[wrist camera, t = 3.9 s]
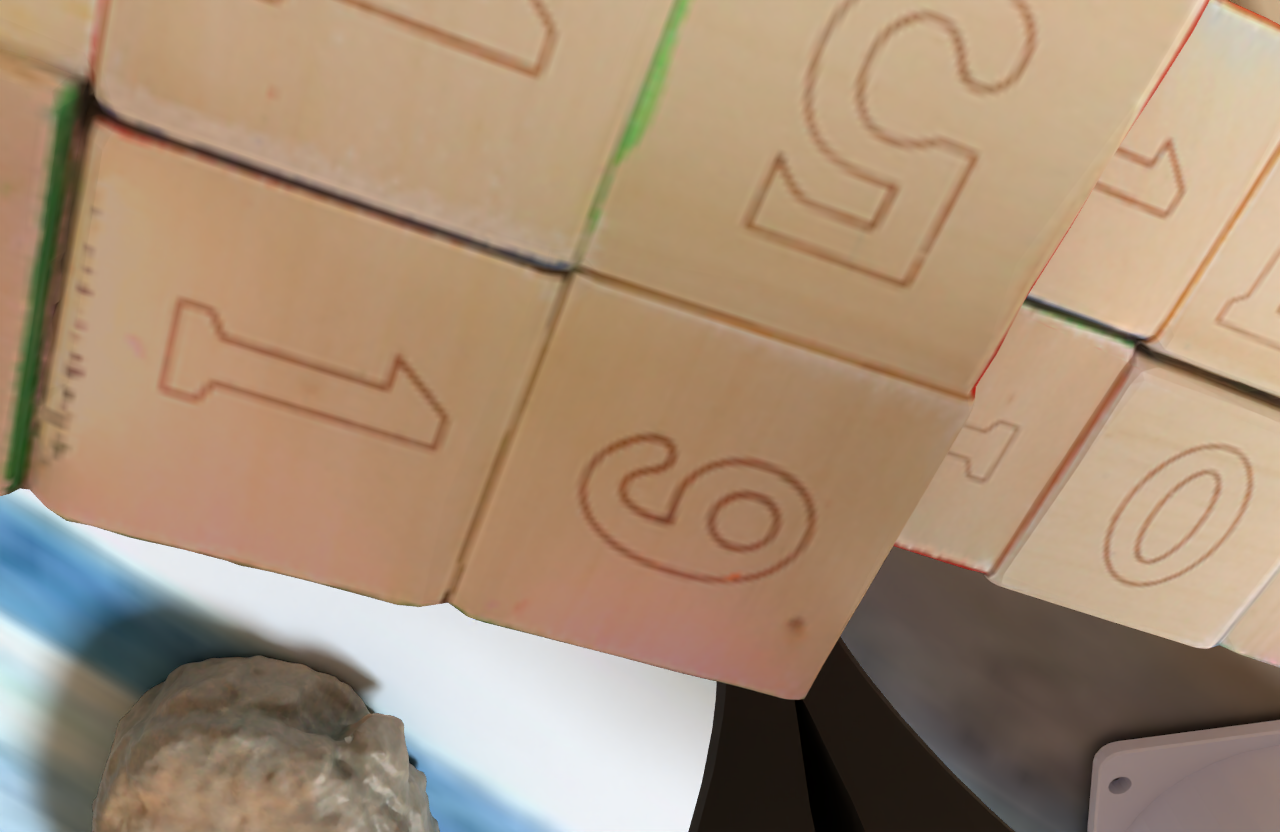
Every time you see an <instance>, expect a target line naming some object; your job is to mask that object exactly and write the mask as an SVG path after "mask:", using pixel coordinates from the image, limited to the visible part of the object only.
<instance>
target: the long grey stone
mask: <svg viewBox="0 0 1280 832" xmlns="http://www.w3.org/2000/svg"><path fill="white" fill-rule="evenodd" d="M426 782H427V781H426V776H425V774H424V773H423V772H421V771H419V770H417V769H416V768H415V767H414V766H413V765H411V764H410V763H409V756H408V752H407V748H406V743H405V736H404V724H403V722H402V720H400V719H399V718H396V717H394V716H391V715H383V714H379V713H374V714H371V713H370V712H369V711H368V710H367V708H366V706H365V703H364V702H363V701H362V699H361V698H360V696H359V695H357V694H356V693H355V692H354V690H353V689H352V687H351V686H349V685H348V684H346V683H342V682H341V681H339V680H338V679H337V678H336V677H335V676H332V675H329V674H325V673H321V672H316V671H314V670H313V669H311V668H310V667H308V666H306V665H304V664H299V663H289V662H285V661H282V660H277V659H272V658H266V657H264V656H261V655H258V656H252V657H247V658H244V657H226V658H209V659H206V660H204V661H202V662H192V663H187V664H184V665H181V666H179V667H178V668H176V669H175V670H174V671H172V672H171V673H170V674H169V675H168V677H167V679H166V681H165V682H162V683H160V684H158V685H157V686H155V687H153V688H152V689H150V690H148V691H147V692H146V693H145V694H144V695H143V696H142V697H141V698H140V699H139V700H138V702H137V703H136V704H135V705H134V706H133V707H132V709H131V710H130V711H129V712H128V713H127V714H126V715H125V716H124V717H123V718H122V719H121V720H120V721H119V723H118V725H117V728H116V732H115V738H114V741H113V744H112V747H111V752H110V756H109V758H108V760H107V763H106V766H105V769H104V772H103V775H102V779H101V782H100V785H99V788H98V793H97V797H96V798H95V799H94V800H93V804H92V811H93V813H94V814H93V822H92V832H440V830H439V827H438V822H437V820H436V819H435V818H433V817H432V815H431V812H430V810H429V801H428V795H427V794H426V791H425V790H426Z"/></svg>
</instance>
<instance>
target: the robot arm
mask: <svg viewBox="0 0 1280 832" xmlns="http://www.w3.org/2000/svg"><path fill="white" fill-rule="evenodd" d="M1119 777H1120V778H1119ZM1116 778H1119V779H1118V780H1115V781H1113V780H1114V779H1116ZM1111 781H1112V782H1111ZM689 832H1015V831H1014V830H1013V829H1011V828H1010V827H1009V826H1008V825H1007V824H1006V823H1005V822H1004V821H1003V820H1001V819H1000V818H999V817H998V816H997V815H996V814H995V813H994V812H993V811H992V810H991V809H989V808H988V807H987V806H986V805H985V804H984V803H983V802H982V801H981V800H980V799H979V798H978V797H977V796H976V795H975V794H974V793H973V792H972V791H971V790H970V789H969V788H968V787H967V786H966V785H965V784H964V783H963V782H962V781H961V780H960V779H959V778H958V777H957V776H956V775H955V774H954V773H953V772H952V771H951V770H950V769H949V768H948V767H947V766H946V765H945V764H944V763H943V762H942V761H941V760H940V759H939V758H938V757H937V756H936V755H935V753H934V752H933V751H932V750H931V749H930V748H929V747H928V746H927V745H926V744H925V742H924V741H923V740H922V739H921V738H920V737H919V736H918V735H917V734H916V733H915V731H914V730H913V729H912V728H911V727H910V726H909V725H908V724H907V723H906V721H905V720H904V719H903V718H902V717H901V716H900V714H899V713H898V712H897V711H896V710H895V709H894V707H893V706H892V705H891V704H890V703H889V701H888V700H887V699H886V698H885V696H884V695H883V694H882V693H881V691H880V690H879V689H878V688H877V687H876V685H875V684H874V683H873V682H872V680H871V679H870V678H869V676H868V675H867V674H866V672H865V671H864V670H863V668H862V667H861V666H860V664H859V663H858V662H857V660H856V659H855V658H854V656H853V655H852V653H851V652H850V650H849V649H848V648H847V646H846V645H845V643H844V642H843V640H842V638H841V637H839V639H838V641H837V642H836V644H835V646H834V647H833V649H832V651H831V653H830V654H829V656H828V658H827V659H826V661H825V663H824V664H823V666H822V668H821V670H820V672H819V673H818V675H817V677H816V679H815V681H814V682H813V684H812V686H811V688H810V690H809V691H808V693H807V695H806V697H805V699H800V700H789V699H783V698H779V697H776V696H772V695H768V694H765V693H761V692H757V691H754V690H750V689H746V688H742V687H738V686H734V685H730V684H726V683H722V682H717V688H716V703H715V711H714V720H713V728H712V734H711V739H710V744H709V749H708V755H707V760H706V765H705V770H704V775H703V780H702V784H701V788H700V792H699V796H698V799H697V803H696V806H695V810H694V814H693V817H692V821H691V825H690V828H689ZM1087 832H1280V720H1275V721H1267V722H1260V723H1252V724H1244V725H1237V726H1229V727H1222V728H1214V729H1207V730H1199V731H1191V732H1184V733H1176V734H1169V735H1161V736H1154V737H1146V738H1138V739H1131V740H1123V741H1116V742H1112V743H1108V744H1106V745H1105V746H1103V747H1102V748H1100V750H1099V751H1098V752H1097V753H1096V754H1095V757H1094V760H1093V769H1092V781H1091V793H1090V805H1089V817H1088V829H1087Z"/></svg>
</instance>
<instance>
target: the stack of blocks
mask: <svg viewBox="0 0 1280 832" xmlns="http://www.w3.org/2000/svg"><path fill="white" fill-rule="evenodd" d="M19 488H22V489H30V490H31V491H32V492H33V493H34V494H35V496H36V497H37V498H38V499H39V500H40V501H41V502H42V503H43V504H44V505H45V506H46V507H47V508H48V509H50V510H51V511H53V512H54V513H56V514H57V515H59V516H60V517H62V518H63V519H65V520H66V521H71V522H76V523H81V524H86V525H91V526H94V527H98V528H101V529H104V530H108V531H111V532H114V533H117V534H121V535H124V536H127V537H130V538H134V539H139V540H143V541H148V542H153V543H157V544H162V545H166V546H171V547H175V548H180V549H184V550H188V551H192V552H195V553H199V554H203V555H207V556H211V557H215V558H218V559H222V560H226V561H229V562H232V563H234V564H237V565H241V566H246V567H251V568H255V569H260V570H265V571H270V572H274V573H278V574H282V575H287V576H291V577H295V578H299V579H303V580H307V581H311V582H315V583H318V584H322V585H326V586H330V587H333V588H337V589H341V590H345V591H348V592H352V593H356V594H360V595H363V596H367V597H371V598H375V599H378V600H382V601H385V602H389V603H393V604H396V605H406V606H416V607H422V606H428V605H435V604H442V603H450V604H451V605H452V606H454V607H455V608H457V609H458V610H459V611H461V612H462V613H463V614H465V615H466V616H468V617H470V618H473V619H476V620H479V621H482V622H485V623H489V624H493V625H497V626H501V627H505V628H509V629H513V630H517V631H521V632H525V633H529V634H533V635H537V636H541V637H545V638H549V639H553V640H557V641H560V642H564V643H568V644H572V645H576V646H580V647H584V648H588V649H592V650H596V651H600V652H604V653H608V654H611V655H615V656H619V657H623V658H627V659H630V660H634V661H638V662H642V663H645V664H649V665H653V666H657V667H661V668H664V669H668V670H672V671H676V672H679V673H683V674H688V675H692V676H696V677H700V678H705V679H709V680H713V681H717V682H722V683H726V684H730V685H734V686H738V687H742V688H746V689H750V690H754V691H757V692H761V693H765V694H768V695H772V696H776V697H779V698H783V699H789V700H800V699H805V697H806V695H807V693H808V691H809V690H810V688H811V686H812V684H813V682H814V681H815V679H816V677H817V675H818V673H819V672H820V670H821V668H822V666H823V664H824V663H825V661H826V659H827V658H828V656H829V654H830V653H831V651H832V649H833V647H834V646H835V644H836V642H837V641H838V639H839V637H840V636H841V634H842V632H843V630H844V629H845V627H846V625H847V624H848V622H849V620H850V619H851V617H852V615H853V613H854V612H855V610H856V608H857V607H858V605H859V603H860V602H861V600H862V598H863V596H864V595H865V593H866V591H867V590H868V588H869V586H870V585H871V583H872V581H873V579H874V578H875V576H876V574H877V573H878V571H879V569H880V568H881V566H882V564H883V562H884V561H885V559H886V557H887V556H888V554H889V552H890V551H891V549H892V547H893V546H895V547H899V548H902V549H905V550H908V551H911V552H914V553H917V554H920V555H924V556H927V557H930V558H933V559H936V560H939V561H942V562H946V563H949V564H952V565H955V566H958V567H962V568H965V569H968V570H973V571H977V572H982V573H983V574H984V575H985V577H986V578H987V579H988V580H989V581H990V582H992V583H994V584H996V585H998V586H1000V587H1004V588H1007V589H1010V590H1013V591H1016V592H1019V593H1023V594H1026V595H1029V596H1032V597H1035V598H1038V599H1042V600H1045V601H1048V602H1051V603H1054V604H1057V605H1061V606H1064V607H1067V608H1070V609H1073V610H1076V611H1080V612H1083V613H1086V614H1089V615H1092V616H1095V617H1099V618H1102V619H1105V620H1108V621H1111V622H1115V623H1118V624H1121V625H1124V626H1127V627H1131V628H1134V629H1137V630H1140V631H1144V632H1147V633H1150V634H1153V635H1157V636H1160V637H1163V638H1166V639H1170V640H1173V641H1176V642H1179V643H1182V644H1186V645H1189V646H1192V647H1195V648H1202V649H1208V648H1211V647H1214V646H1218V645H1220V646H1222V647H1225V648H1227V649H1229V650H1231V651H1233V652H1236V653H1238V654H1241V655H1244V656H1246V657H1249V658H1252V659H1255V660H1258V661H1261V662H1264V663H1267V664H1270V665H1273V666H1276V667H1279V668H1280V25H1279V24H1277V23H1275V22H1273V21H1271V20H1269V19H1268V18H1266V17H1263V16H1261V15H1259V14H1257V13H1254V12H1252V11H1250V10H1248V9H1245V8H1243V7H1241V6H1239V5H1236V4H1234V3H1232V2H1230V1H1227V0H0V496H3V495H6V494H10V493H12V492H13V491H15V490H17V489H19Z"/></svg>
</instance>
